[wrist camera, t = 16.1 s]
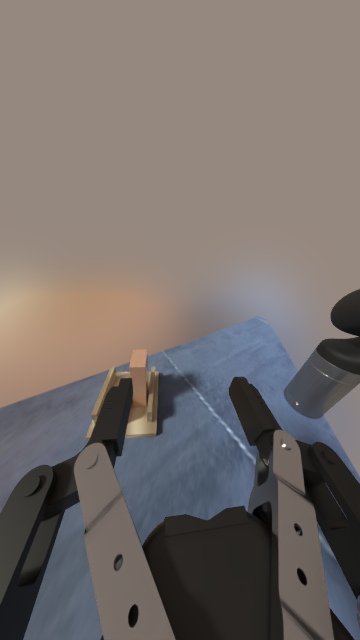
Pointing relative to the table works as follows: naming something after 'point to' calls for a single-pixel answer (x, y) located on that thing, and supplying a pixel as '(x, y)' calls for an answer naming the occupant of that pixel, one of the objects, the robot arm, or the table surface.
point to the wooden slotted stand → (139, 418)
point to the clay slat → (139, 377)
